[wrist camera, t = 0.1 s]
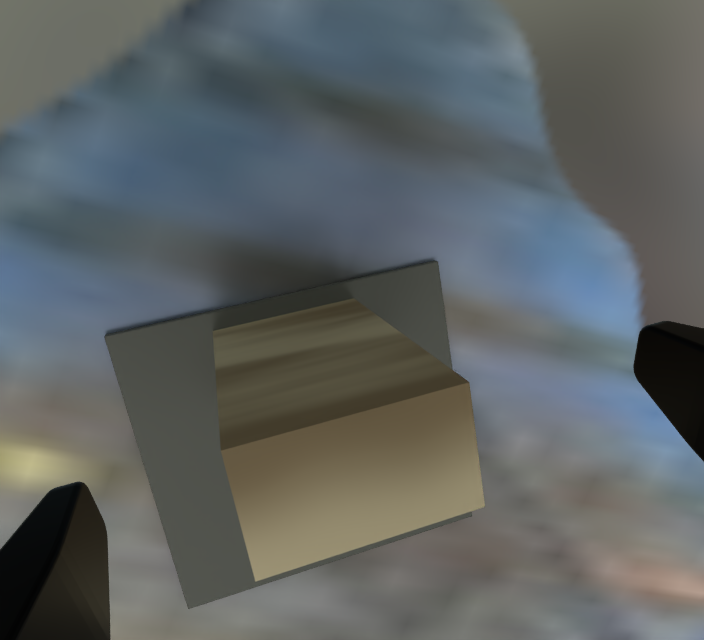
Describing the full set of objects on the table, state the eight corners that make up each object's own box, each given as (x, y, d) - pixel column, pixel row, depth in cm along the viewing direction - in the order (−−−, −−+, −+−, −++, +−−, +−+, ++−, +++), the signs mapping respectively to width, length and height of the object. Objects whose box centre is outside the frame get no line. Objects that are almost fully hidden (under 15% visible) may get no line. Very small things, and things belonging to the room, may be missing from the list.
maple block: (367, 373, 25) (484, 507, 14) (232, 409, 24) (255, 582, 13) (353, 298, 24) (469, 382, 14) (212, 331, 23) (220, 450, 12)
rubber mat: (468, 511, 28) (472, 516, 28) (188, 602, 26) (188, 609, 25) (434, 260, 25) (437, 261, 25) (105, 334, 22) (104, 337, 22)
